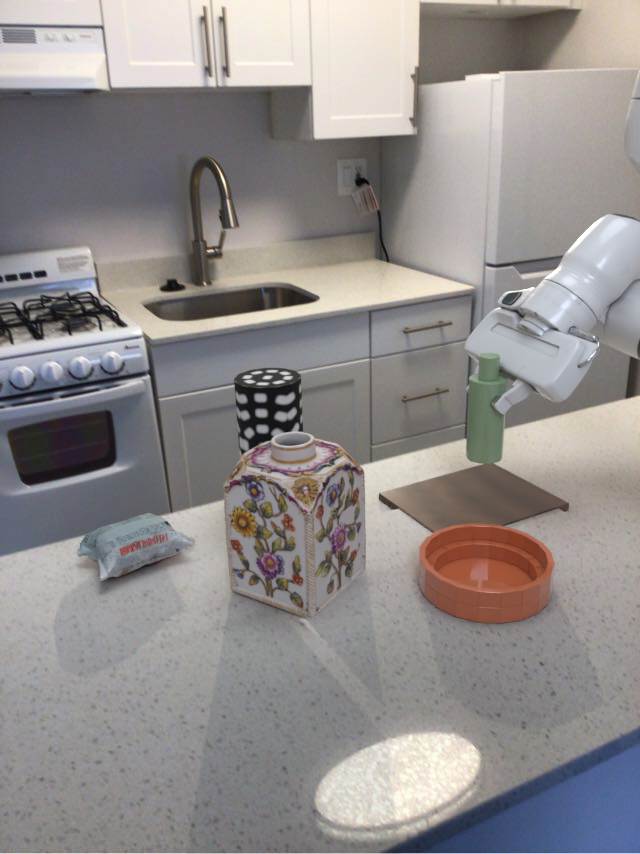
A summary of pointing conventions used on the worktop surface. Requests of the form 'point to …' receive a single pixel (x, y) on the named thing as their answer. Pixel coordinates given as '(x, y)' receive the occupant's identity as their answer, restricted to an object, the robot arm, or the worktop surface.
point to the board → (472, 498)
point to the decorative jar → (295, 522)
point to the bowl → (486, 572)
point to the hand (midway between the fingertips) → (482, 402)
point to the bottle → (485, 412)
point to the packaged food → (132, 544)
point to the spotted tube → (267, 405)
